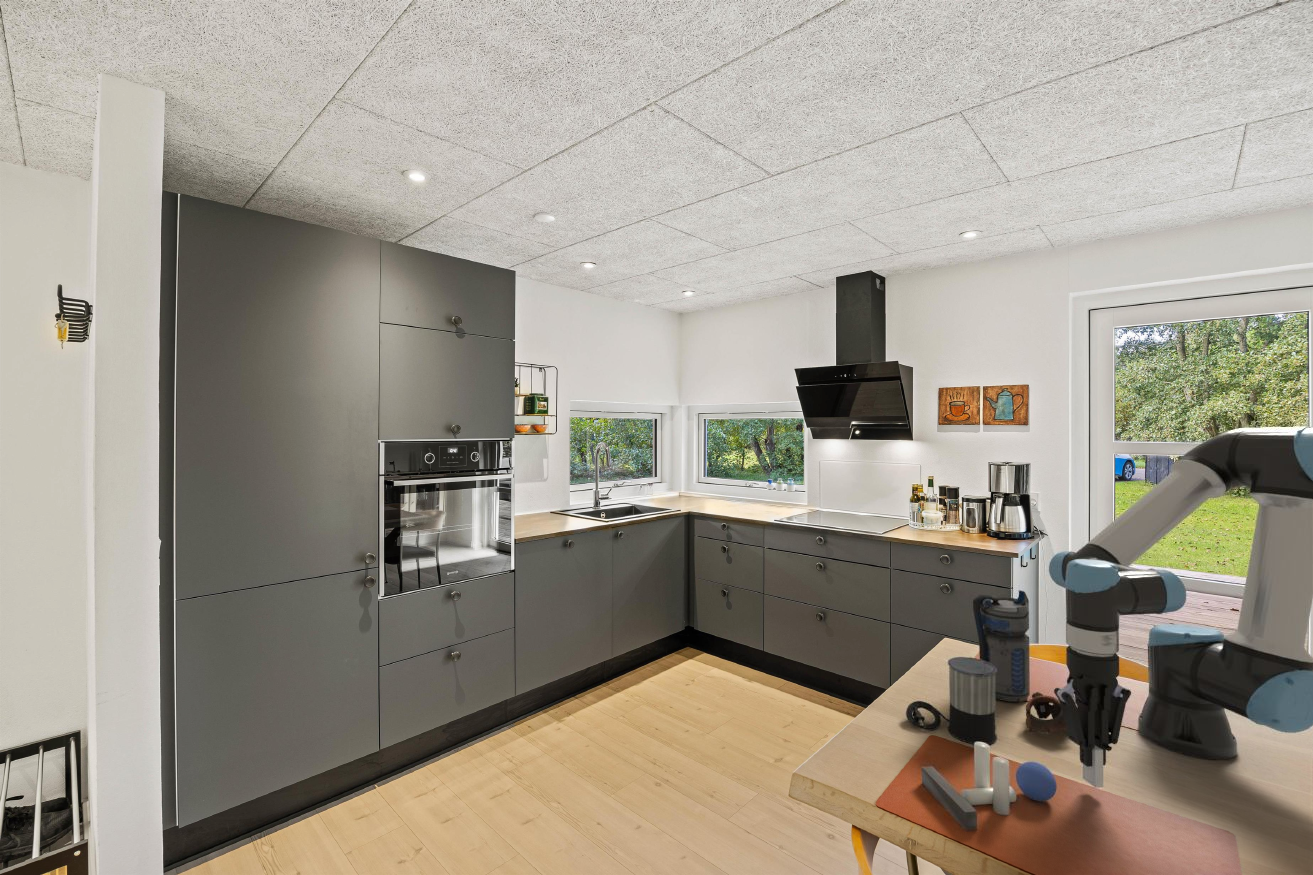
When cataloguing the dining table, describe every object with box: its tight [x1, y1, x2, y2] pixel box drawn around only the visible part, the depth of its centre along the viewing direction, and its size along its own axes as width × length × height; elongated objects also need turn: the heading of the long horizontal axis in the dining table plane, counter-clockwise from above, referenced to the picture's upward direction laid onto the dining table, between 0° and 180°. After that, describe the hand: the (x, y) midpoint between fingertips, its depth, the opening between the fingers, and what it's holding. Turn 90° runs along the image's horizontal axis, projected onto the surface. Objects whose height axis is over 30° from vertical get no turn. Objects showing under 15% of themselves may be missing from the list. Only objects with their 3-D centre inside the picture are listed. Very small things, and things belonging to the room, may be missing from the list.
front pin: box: [960, 785, 1017, 806], centre depth 103 cm, size 2×2×8 cm
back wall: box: [921, 765, 978, 832], centre depth 103 cm, size 2×13×3 cm, turn 5°
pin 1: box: [973, 742, 991, 789], centre depth 106 cm, size 2×2×8 cm
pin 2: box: [992, 756, 1011, 816], centre depth 101 cm, size 2×2×8 cm
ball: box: [1015, 761, 1058, 802], centre depth 104 cm, size 6×6×6 cm
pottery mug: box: [1025, 691, 1067, 734], centre depth 128 cm, size 12×10×8 cm
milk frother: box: [905, 656, 998, 745], centre depth 128 cm, size 14×16×15 cm
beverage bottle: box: [972, 590, 1031, 703], centre depth 144 cm, size 10×13×25 cm
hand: (1092, 782), depth 105 cm, fingers closed
